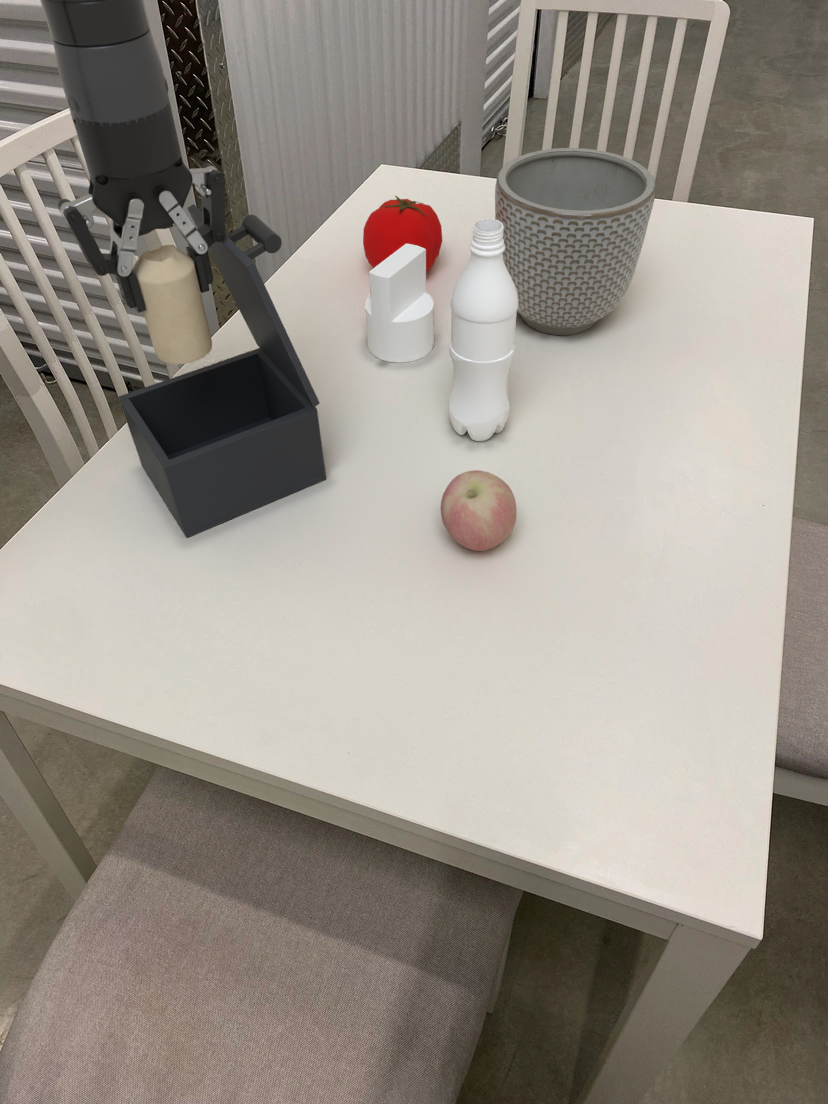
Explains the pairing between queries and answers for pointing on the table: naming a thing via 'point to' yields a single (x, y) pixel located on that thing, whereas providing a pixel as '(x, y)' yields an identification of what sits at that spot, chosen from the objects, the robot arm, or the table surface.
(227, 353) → the table surface
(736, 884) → the table surface
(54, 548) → the table surface
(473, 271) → the water bottle
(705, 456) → the table surface
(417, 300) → the base with upright slab
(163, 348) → the candle
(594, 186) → the planter
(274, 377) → the dark grey open box
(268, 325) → the dark grey box lid
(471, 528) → the apple
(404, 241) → the tomato
